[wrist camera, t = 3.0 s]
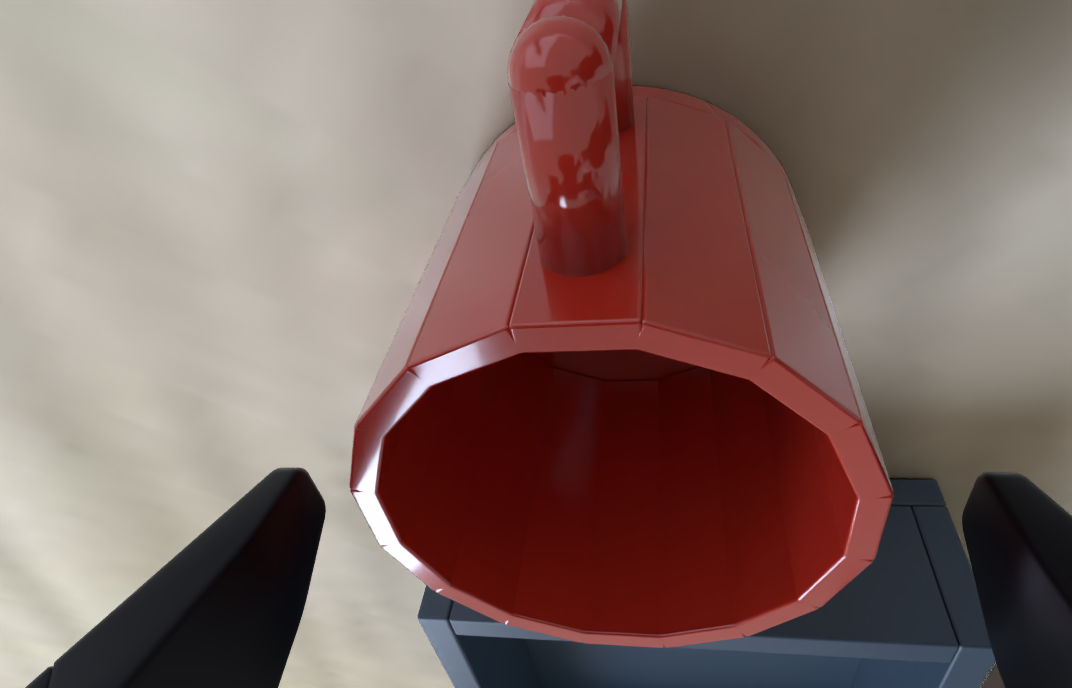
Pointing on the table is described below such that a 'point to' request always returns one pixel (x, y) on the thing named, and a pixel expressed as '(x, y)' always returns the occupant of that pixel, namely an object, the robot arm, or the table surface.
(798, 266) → the mug
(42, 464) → the table surface
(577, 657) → the dark blue tray
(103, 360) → the table surface
